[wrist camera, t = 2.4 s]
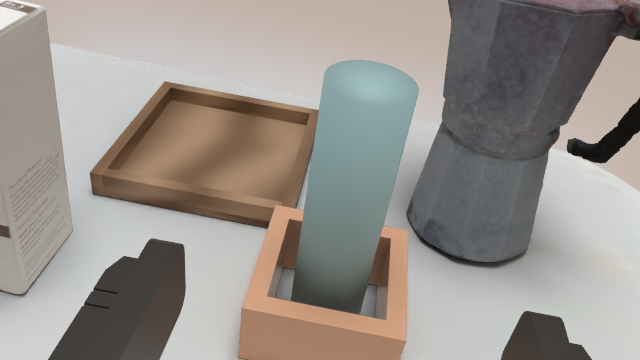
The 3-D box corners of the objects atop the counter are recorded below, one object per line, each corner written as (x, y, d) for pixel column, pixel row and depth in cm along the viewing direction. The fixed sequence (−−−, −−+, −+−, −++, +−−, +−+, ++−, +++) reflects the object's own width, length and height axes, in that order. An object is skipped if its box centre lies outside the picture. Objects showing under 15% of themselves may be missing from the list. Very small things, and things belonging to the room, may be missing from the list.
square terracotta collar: (238, 357, 29) (241, 308, 27) (270, 252, 36) (275, 204, 33) (389, 388, 29) (405, 341, 26) (393, 276, 35) (408, 230, 33)
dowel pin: (283, 334, 31) (317, 95, 22) (295, 281, 34) (330, 53, 25) (354, 349, 31) (419, 113, 22) (360, 294, 34) (418, 69, 25)
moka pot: (413, 153, 47) (486, -107, 35) (594, 245, 40) (761, -36, 28) (348, 203, 41) (411, -94, 28) (552, 322, 34) (744, 0, 22)
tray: (92, 193, 38) (89, 172, 37) (165, 100, 49) (164, 81, 48) (289, 232, 37) (291, 211, 36) (318, 128, 48) (320, 110, 47)
